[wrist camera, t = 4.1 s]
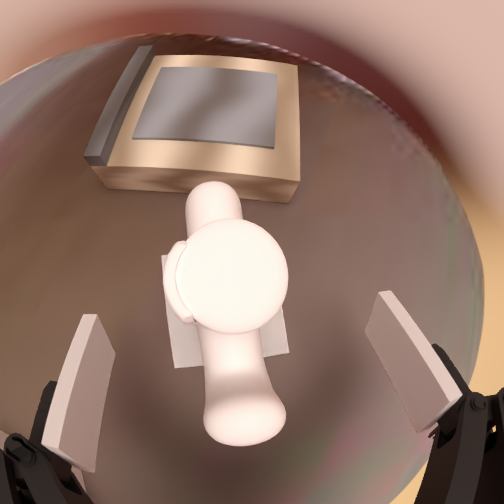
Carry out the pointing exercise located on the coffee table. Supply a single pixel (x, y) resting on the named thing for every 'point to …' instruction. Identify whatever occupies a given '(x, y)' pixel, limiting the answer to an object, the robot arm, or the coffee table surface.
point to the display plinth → (200, 126)
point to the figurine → (228, 313)
